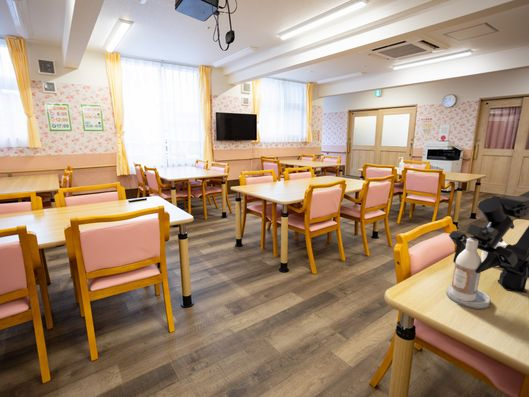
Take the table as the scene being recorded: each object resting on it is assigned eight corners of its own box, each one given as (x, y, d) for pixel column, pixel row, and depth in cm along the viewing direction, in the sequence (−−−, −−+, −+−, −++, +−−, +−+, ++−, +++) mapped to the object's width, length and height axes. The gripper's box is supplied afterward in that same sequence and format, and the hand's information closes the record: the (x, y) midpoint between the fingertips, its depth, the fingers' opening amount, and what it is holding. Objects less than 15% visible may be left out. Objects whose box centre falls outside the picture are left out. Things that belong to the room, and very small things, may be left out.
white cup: (503, 269, 118) (508, 247, 116) (479, 264, 122) (484, 242, 120) (500, 262, 124) (505, 240, 122) (478, 257, 129) (482, 237, 126)
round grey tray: (480, 292, 101) (481, 287, 101) (496, 312, 90) (497, 306, 90) (442, 286, 105) (443, 281, 104) (452, 305, 94) (453, 300, 93)
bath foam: (445, 292, 97) (454, 237, 92) (459, 288, 99) (469, 234, 94) (465, 303, 91) (476, 245, 86) (480, 298, 93) (491, 241, 88)
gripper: (456, 208, 98) (428, 242, 97) (520, 225, 81) (486, 267, 80) (469, 226, 103) (442, 260, 102) (531, 246, 86) (499, 286, 85)
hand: (464, 267), depth 92 cm, fingers closed on bath foam, 7 cm apart
